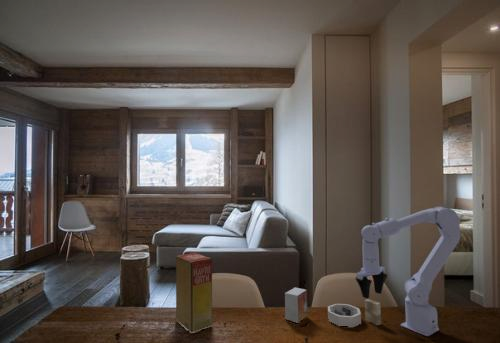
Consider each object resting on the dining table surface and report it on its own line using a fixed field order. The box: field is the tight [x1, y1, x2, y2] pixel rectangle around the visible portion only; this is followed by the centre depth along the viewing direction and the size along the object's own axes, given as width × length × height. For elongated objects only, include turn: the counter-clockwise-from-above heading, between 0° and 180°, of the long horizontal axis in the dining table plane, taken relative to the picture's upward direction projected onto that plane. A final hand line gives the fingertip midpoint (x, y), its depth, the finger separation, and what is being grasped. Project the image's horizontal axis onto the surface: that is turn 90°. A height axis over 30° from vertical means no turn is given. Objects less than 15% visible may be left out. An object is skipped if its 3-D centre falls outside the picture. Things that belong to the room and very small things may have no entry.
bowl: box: [327, 303, 362, 328], centre depth 114 cm, size 12×12×4 cm
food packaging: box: [175, 252, 213, 332], centre depth 113 cm, size 13×9×25 cm
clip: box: [335, 306, 353, 316], centre depth 114 cm, size 4×6×3 cm
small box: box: [284, 287, 308, 324], centre depth 115 cm, size 8×6×10 cm
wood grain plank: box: [364, 298, 382, 326], centre depth 111 cm, size 5×2×8 cm, turn 33°
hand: (372, 295), depth 112 cm, fingers open, 7 cm apart
